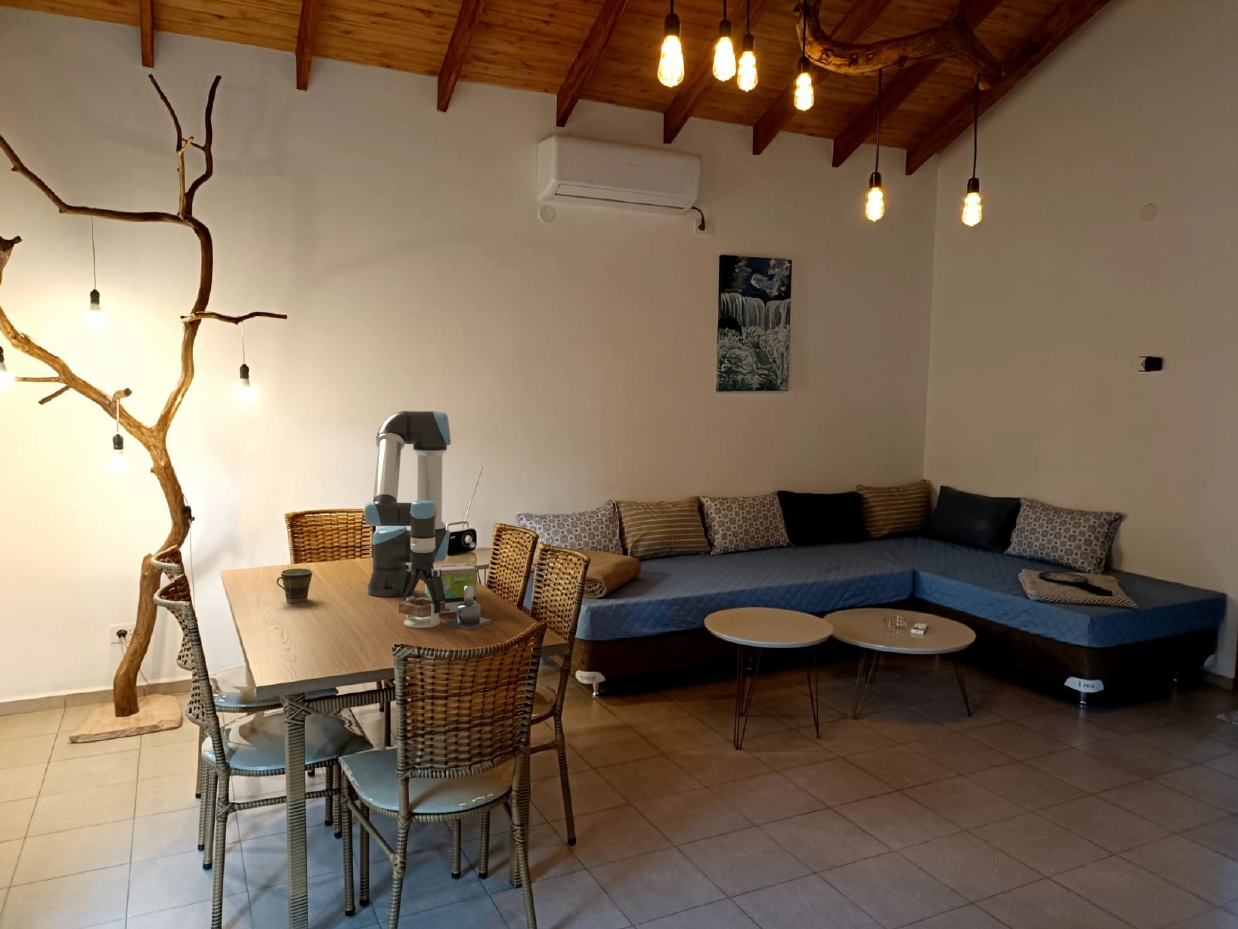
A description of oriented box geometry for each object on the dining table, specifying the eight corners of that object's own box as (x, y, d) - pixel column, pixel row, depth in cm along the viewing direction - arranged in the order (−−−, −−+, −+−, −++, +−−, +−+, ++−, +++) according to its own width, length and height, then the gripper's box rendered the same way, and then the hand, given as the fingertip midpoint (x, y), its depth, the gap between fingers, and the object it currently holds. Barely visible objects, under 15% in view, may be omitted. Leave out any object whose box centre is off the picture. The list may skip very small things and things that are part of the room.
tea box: (432, 615, 280) (432, 570, 278) (424, 608, 288) (424, 564, 287) (476, 611, 286) (477, 567, 285) (467, 603, 295) (468, 561, 294)
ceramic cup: (298, 595, 300) (298, 567, 299) (318, 599, 295) (318, 571, 294) (267, 603, 288) (266, 573, 287) (287, 607, 283) (287, 578, 282)
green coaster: (396, 623, 269) (396, 622, 269) (422, 616, 278) (422, 614, 278) (422, 630, 263) (422, 628, 263) (447, 622, 273) (447, 620, 273)
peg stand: (445, 624, 270) (445, 587, 269) (467, 617, 278) (467, 581, 277) (469, 630, 265) (470, 592, 263) (490, 623, 273) (491, 585, 272)
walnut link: (398, 612, 269) (398, 603, 269) (422, 605, 277) (422, 596, 277) (422, 618, 264) (422, 608, 263) (445, 611, 272) (445, 601, 272)
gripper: (388, 547, 271) (387, 616, 274) (441, 557, 260) (440, 629, 262) (405, 543, 278) (405, 611, 280) (458, 553, 266) (457, 623, 268)
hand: (422, 620), depth 271 cm, fingers closed on walnut link, 10 cm apart
